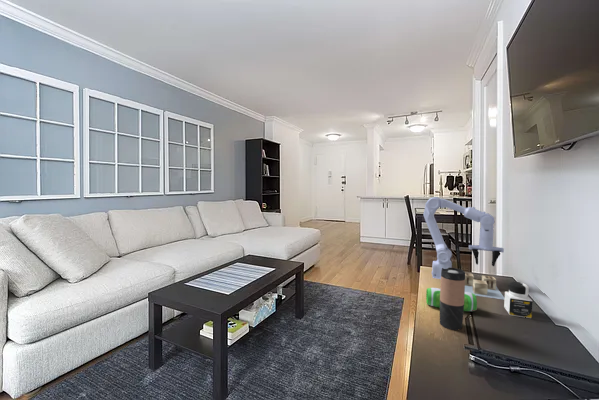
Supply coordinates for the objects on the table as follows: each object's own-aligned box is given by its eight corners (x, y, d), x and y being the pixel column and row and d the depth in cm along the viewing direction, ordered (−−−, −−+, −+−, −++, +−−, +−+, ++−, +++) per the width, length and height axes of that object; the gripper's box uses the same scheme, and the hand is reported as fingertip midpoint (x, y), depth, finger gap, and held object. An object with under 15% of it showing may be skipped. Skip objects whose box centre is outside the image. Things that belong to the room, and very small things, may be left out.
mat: (463, 294, 129) (463, 293, 129) (458, 281, 148) (458, 280, 148) (505, 301, 123) (506, 299, 123) (495, 286, 141) (495, 284, 141)
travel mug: (462, 332, 96) (465, 275, 95) (437, 326, 100) (440, 271, 99) (463, 323, 103) (465, 269, 101) (440, 318, 107) (442, 266, 105)
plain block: (474, 293, 130) (474, 282, 129) (472, 289, 134) (473, 279, 134) (487, 295, 128) (487, 284, 127) (484, 291, 132) (485, 280, 132)
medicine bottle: (509, 315, 110) (510, 285, 109) (503, 307, 116) (505, 279, 115) (531, 318, 107) (533, 287, 106) (524, 311, 114) (526, 281, 113)
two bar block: (483, 288, 136) (483, 278, 136) (481, 285, 141) (481, 275, 140) (495, 290, 134) (496, 279, 134) (493, 286, 139) (493, 276, 138)
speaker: (427, 308, 115) (428, 290, 115) (425, 301, 122) (426, 284, 122) (476, 315, 109) (477, 296, 109) (472, 308, 116) (473, 290, 116)
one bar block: (461, 285, 140) (462, 274, 140) (460, 281, 145) (460, 271, 145) (473, 286, 138) (473, 276, 138) (471, 283, 143) (472, 273, 143)
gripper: (470, 238, 140) (469, 265, 141) (505, 240, 134) (504, 268, 135) (468, 235, 147) (467, 261, 147) (502, 238, 141) (500, 265, 142)
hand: (484, 264), depth 142 cm, fingers open, 6 cm apart
